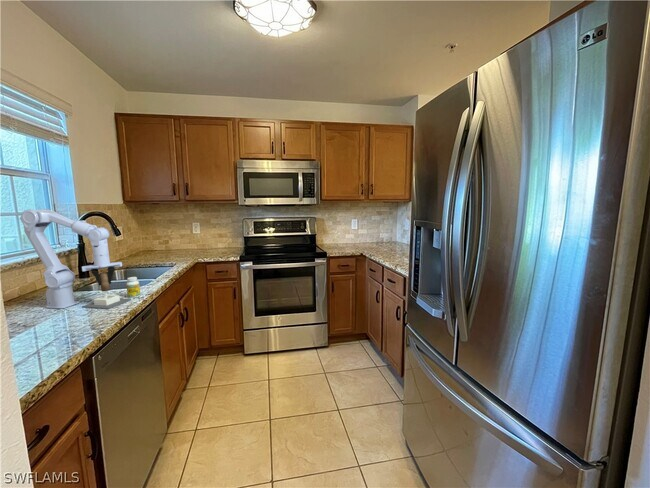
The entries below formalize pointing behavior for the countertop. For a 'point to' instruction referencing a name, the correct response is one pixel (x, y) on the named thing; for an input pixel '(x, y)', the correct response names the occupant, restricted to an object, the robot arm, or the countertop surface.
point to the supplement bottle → (133, 287)
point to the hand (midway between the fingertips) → (104, 284)
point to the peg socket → (106, 302)
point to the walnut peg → (104, 282)
